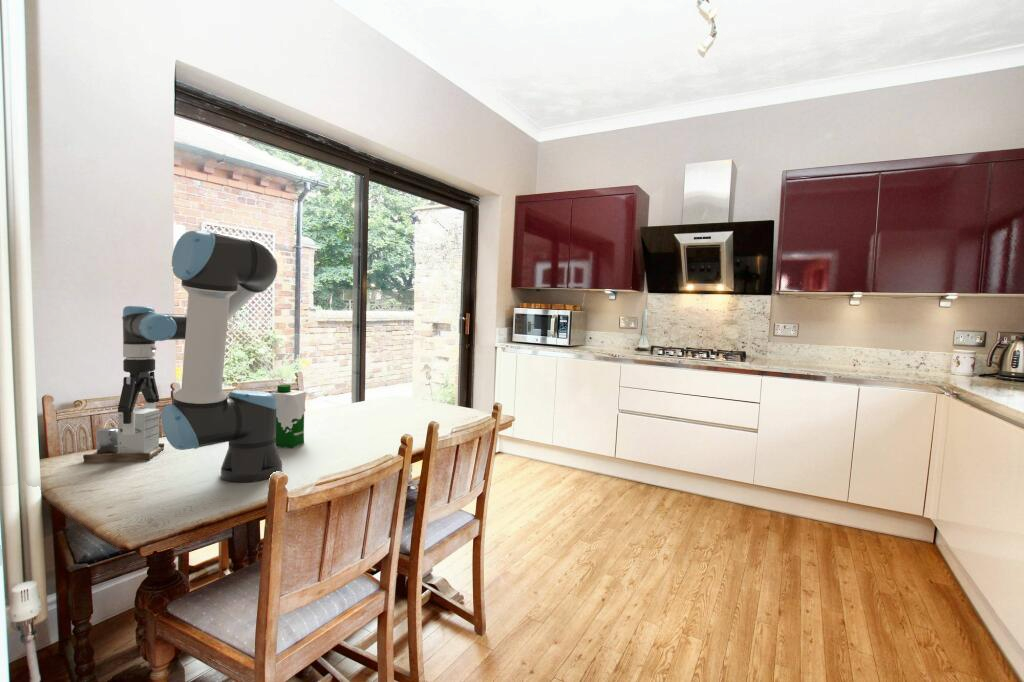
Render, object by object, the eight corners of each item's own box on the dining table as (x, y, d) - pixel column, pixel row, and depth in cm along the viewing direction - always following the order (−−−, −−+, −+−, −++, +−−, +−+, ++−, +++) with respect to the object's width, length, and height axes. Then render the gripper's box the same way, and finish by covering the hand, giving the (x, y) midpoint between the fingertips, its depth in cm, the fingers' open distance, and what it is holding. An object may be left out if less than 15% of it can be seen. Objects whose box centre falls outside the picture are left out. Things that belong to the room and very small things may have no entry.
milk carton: (284, 440, 169) (285, 383, 168) (308, 442, 167) (309, 385, 166) (268, 446, 160) (269, 387, 159) (293, 449, 159) (294, 389, 158)
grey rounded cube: (113, 455, 141) (113, 431, 141) (92, 455, 140) (92, 431, 139) (122, 450, 146) (121, 427, 146) (102, 450, 145) (102, 427, 144)
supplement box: (116, 455, 141) (116, 412, 140) (134, 447, 148) (134, 407, 147) (143, 455, 141) (143, 413, 141) (160, 448, 149) (160, 408, 148)
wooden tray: (164, 450, 152) (164, 443, 151) (149, 460, 141) (149, 453, 141) (103, 451, 147) (103, 444, 147) (83, 462, 137) (83, 455, 137)
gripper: (134, 362, 132) (134, 438, 133) (171, 354, 156) (171, 419, 157) (101, 362, 130) (102, 440, 131) (144, 354, 154) (144, 419, 155)
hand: (140, 428), depth 144 cm, fingers open, 13 cm apart
